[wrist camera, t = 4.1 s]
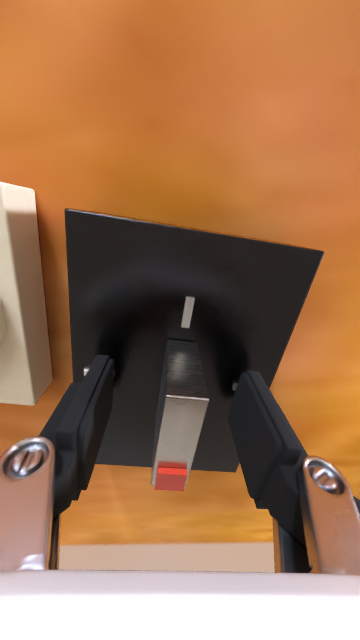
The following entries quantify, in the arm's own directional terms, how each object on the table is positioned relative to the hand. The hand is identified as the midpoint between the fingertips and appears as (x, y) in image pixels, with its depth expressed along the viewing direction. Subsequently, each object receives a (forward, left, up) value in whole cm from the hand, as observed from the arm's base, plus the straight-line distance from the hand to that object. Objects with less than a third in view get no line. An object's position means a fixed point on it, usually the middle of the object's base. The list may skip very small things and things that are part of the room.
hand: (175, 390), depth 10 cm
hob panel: (0, 0, -4) cm, 4 cm away
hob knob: (0, 0, -1) cm, 1 cm away
